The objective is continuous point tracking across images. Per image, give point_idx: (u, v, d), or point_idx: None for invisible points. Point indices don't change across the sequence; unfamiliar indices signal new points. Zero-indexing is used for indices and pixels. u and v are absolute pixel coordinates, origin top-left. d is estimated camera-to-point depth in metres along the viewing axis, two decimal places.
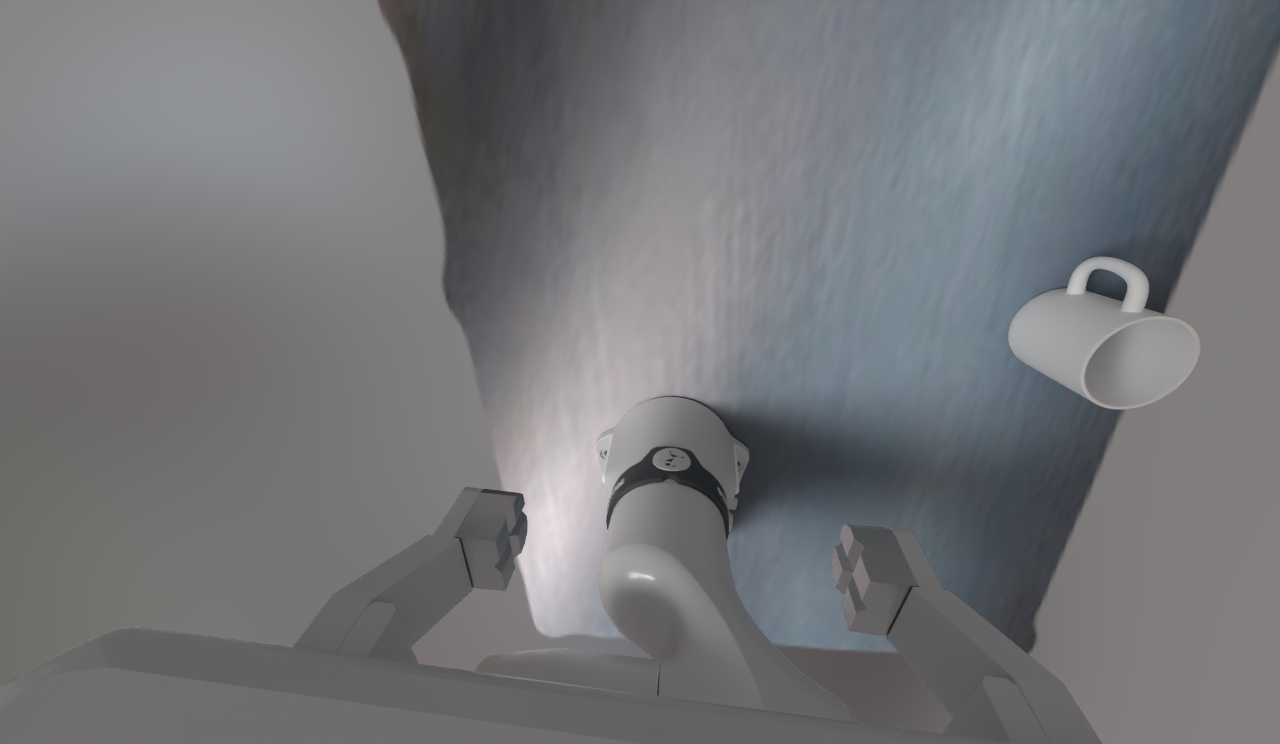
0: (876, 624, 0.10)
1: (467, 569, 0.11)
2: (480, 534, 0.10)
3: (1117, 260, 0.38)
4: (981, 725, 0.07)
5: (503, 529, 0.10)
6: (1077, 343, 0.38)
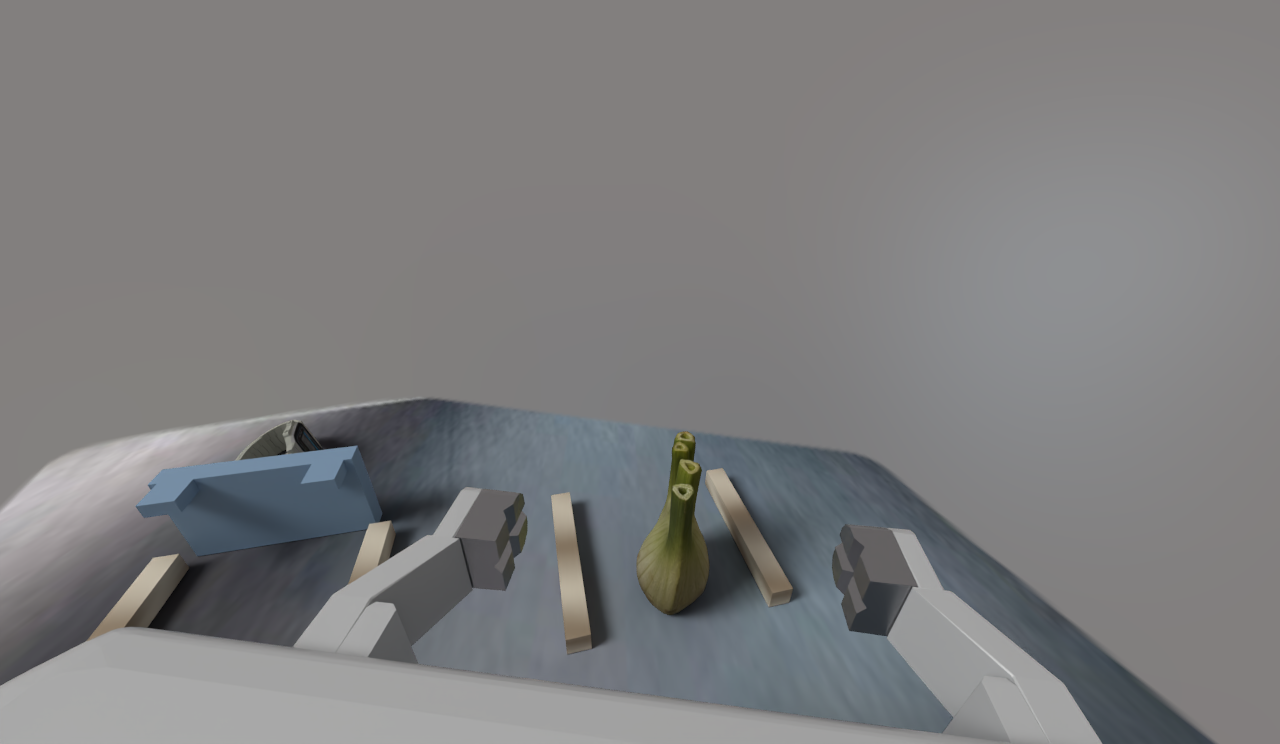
0: (876, 624, 0.10)
1: (467, 569, 0.11)
2: (480, 534, 0.10)
3: None
4: (981, 725, 0.07)
5: (503, 529, 0.10)
6: None
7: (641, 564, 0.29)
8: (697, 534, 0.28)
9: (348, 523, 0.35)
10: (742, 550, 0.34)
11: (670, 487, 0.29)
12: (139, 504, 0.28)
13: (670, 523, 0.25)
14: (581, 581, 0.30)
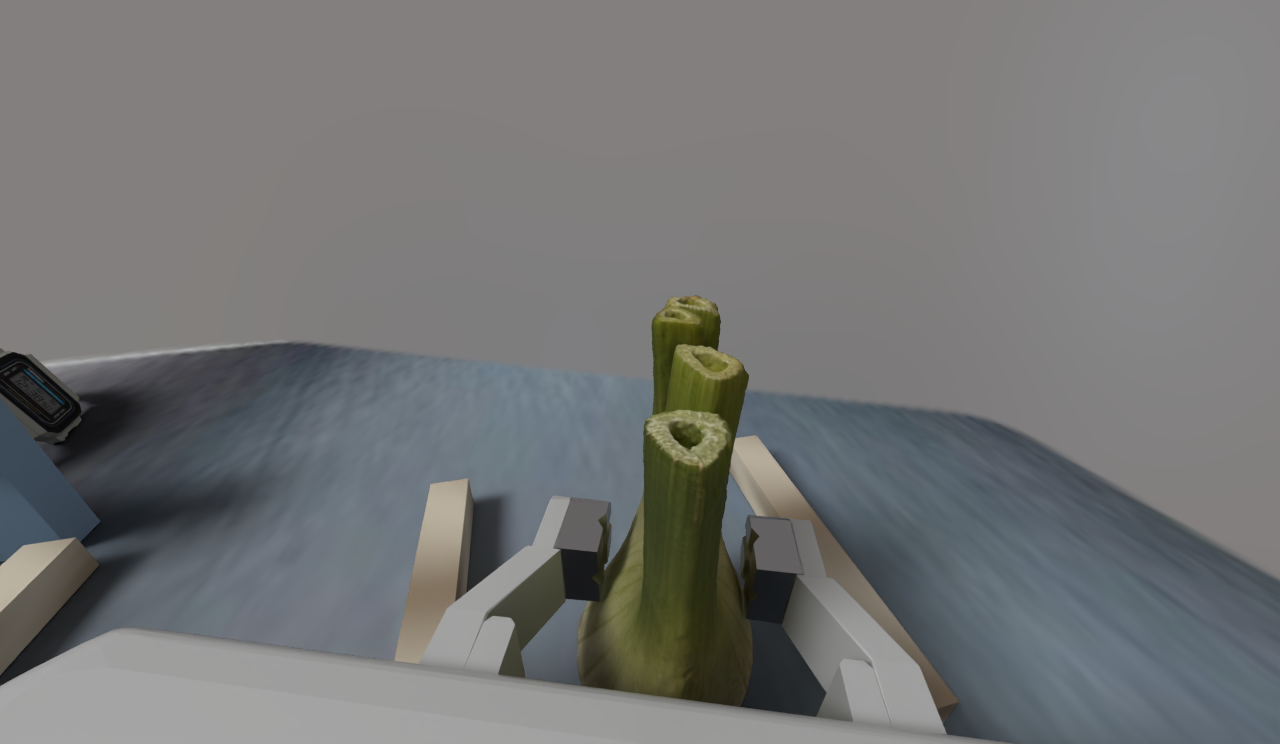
0: (770, 612, 0.10)
1: (563, 580, 0.10)
2: (580, 545, 0.10)
3: None
4: (838, 706, 0.08)
5: (601, 539, 0.10)
6: None
7: (582, 647, 0.12)
8: (729, 578, 0.10)
9: None
10: None
11: None
12: None
13: (646, 556, 0.07)
14: None
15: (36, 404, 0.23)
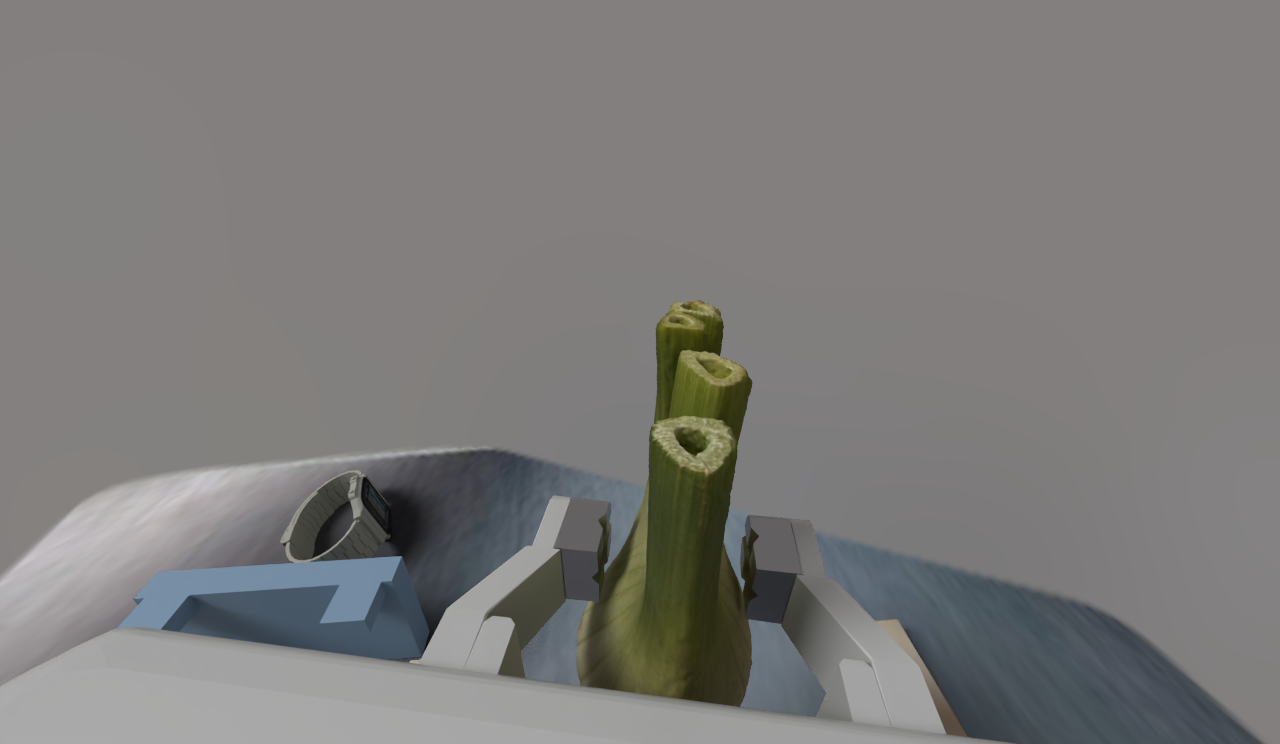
0: (769, 612, 0.10)
1: (563, 580, 0.10)
2: (580, 545, 0.10)
3: None
4: (837, 706, 0.08)
5: (601, 539, 0.10)
6: None
7: (582, 649, 0.12)
8: (729, 581, 0.10)
9: (385, 650, 0.26)
10: None
11: None
12: None
13: (649, 560, 0.07)
14: None
15: (379, 515, 0.33)
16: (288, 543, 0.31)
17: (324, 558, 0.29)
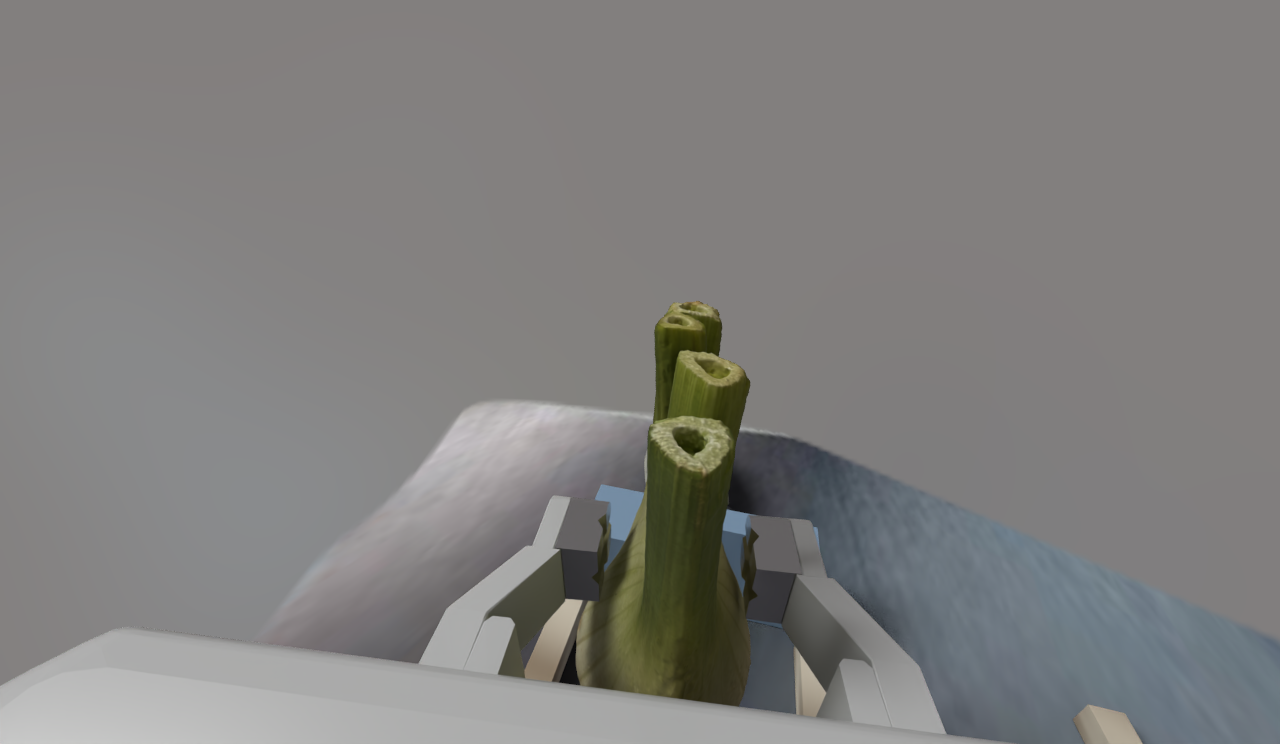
0: (769, 612, 0.10)
1: (562, 580, 0.10)
2: (580, 545, 0.10)
3: None
4: (837, 706, 0.08)
5: (601, 539, 0.10)
6: None
7: (581, 649, 0.12)
8: (728, 580, 0.10)
9: None
10: None
11: None
12: None
13: (647, 559, 0.07)
14: None
15: None
16: None
17: None
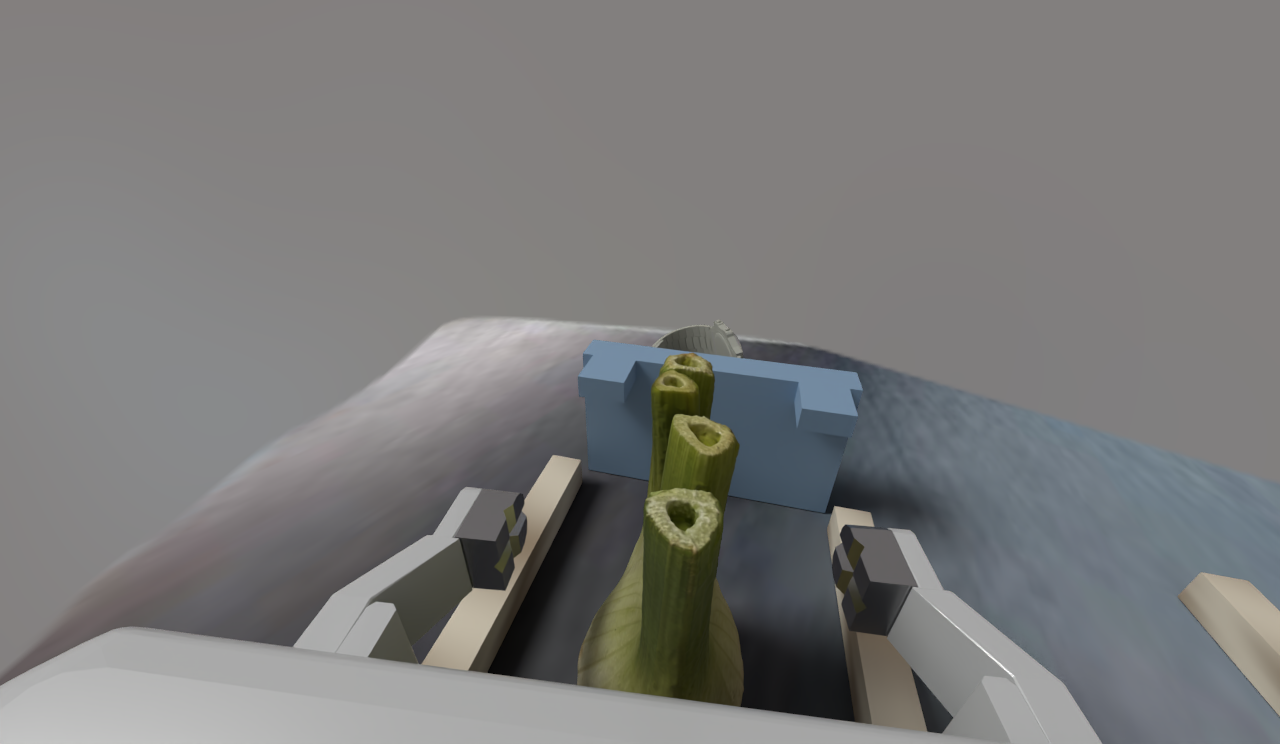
0: (876, 624, 0.10)
1: (467, 569, 0.11)
2: (480, 534, 0.10)
3: None
4: (981, 724, 0.07)
5: (503, 529, 0.10)
6: None
7: (583, 678, 0.12)
8: (721, 618, 0.11)
9: (788, 492, 0.22)
10: None
11: None
12: (581, 375, 0.19)
13: (644, 612, 0.08)
14: None
15: None
16: None
17: None
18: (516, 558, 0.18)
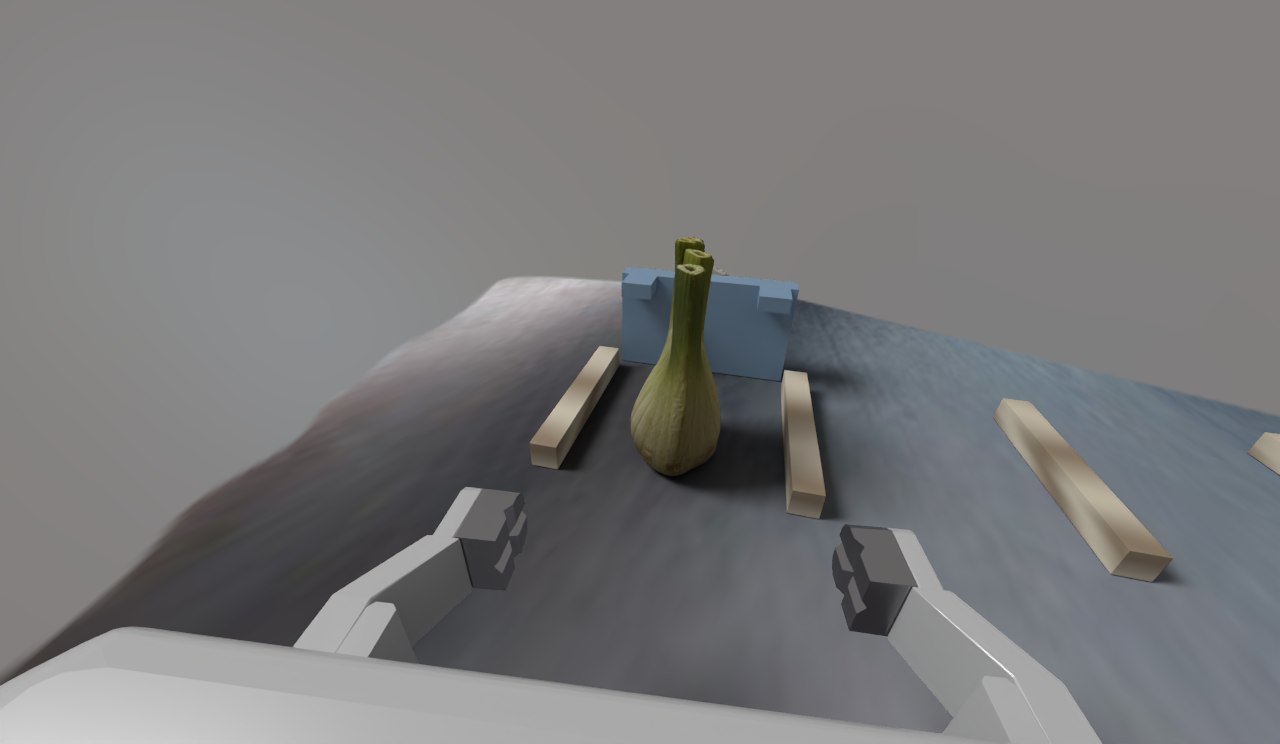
0: (876, 624, 0.10)
1: (467, 569, 0.11)
2: (480, 534, 0.10)
3: None
4: (981, 724, 0.07)
5: (503, 529, 0.10)
6: None
7: (636, 413, 0.24)
8: (707, 363, 0.22)
9: (756, 367, 0.33)
10: None
11: (672, 313, 0.23)
12: (624, 282, 0.30)
13: (674, 326, 0.19)
14: (1112, 494, 0.22)
15: None
16: None
17: None
18: (586, 388, 0.29)
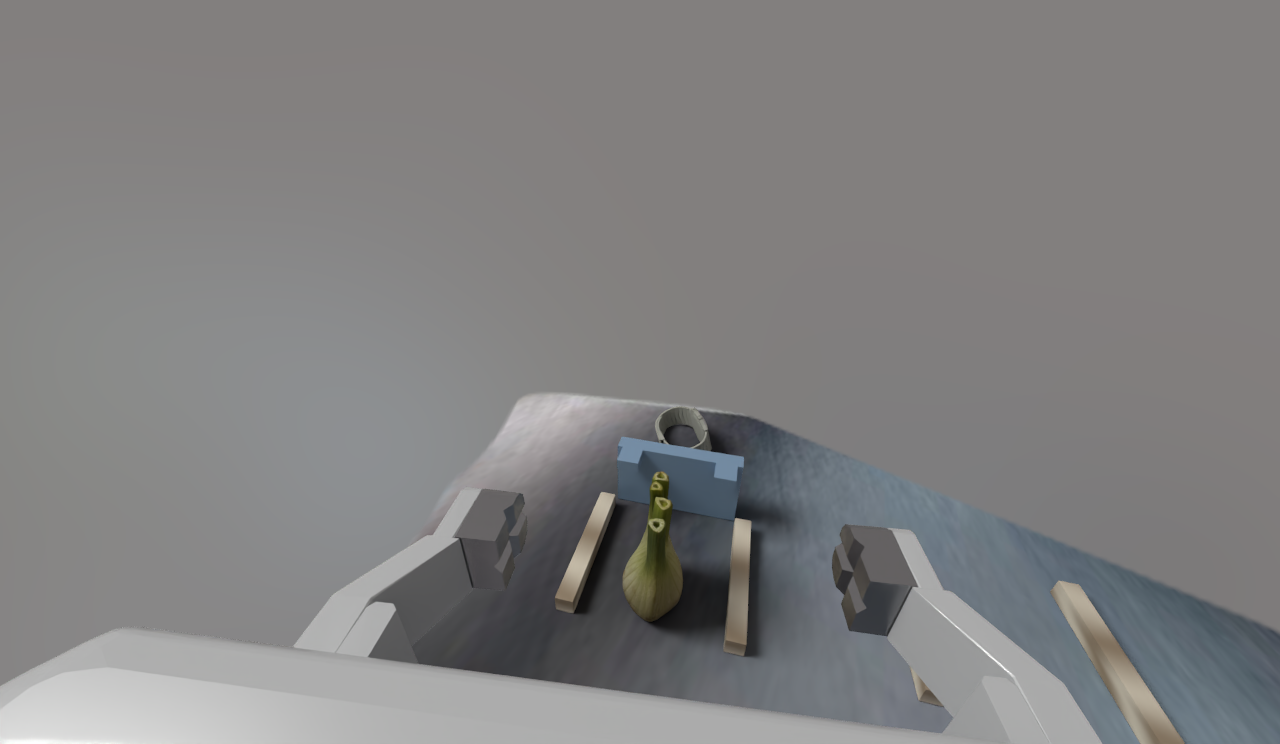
0: (876, 624, 0.10)
1: (467, 569, 0.11)
2: (480, 534, 0.10)
3: None
4: (982, 725, 0.07)
5: (503, 529, 0.10)
6: None
7: (626, 579, 0.36)
8: (671, 556, 0.34)
9: (716, 510, 0.45)
10: (1111, 684, 0.32)
11: (649, 516, 0.35)
12: (618, 459, 0.42)
13: (647, 549, 0.31)
14: None
15: None
16: (664, 440, 0.52)
17: None
18: (591, 541, 0.41)
